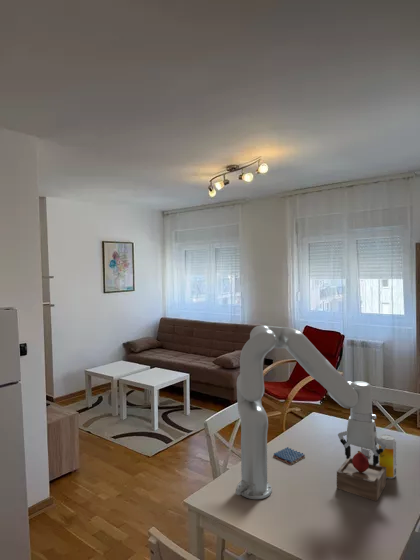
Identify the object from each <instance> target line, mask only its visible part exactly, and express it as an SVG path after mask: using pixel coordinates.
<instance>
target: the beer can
mask: <svg viewBox="0 0 420 560" xmlns="http://www.w3.org/2000/svg"><path fill="white" fill-rule="evenodd" d="M378 439H380V440H381V441H383V442H384V443H385V444H386V445H387V446H386V448H385V449H384V451H383V452H382V453H381V454H379V463H378V465H379V466H383V467H386V479H390V480H391V479H394V478H395V477H396V476H397V441H396V438H395V437H394V436H393V435H390V434H380V436H379V438H378ZM380 448H381V446H380V445H379V444H378V449H380Z"/></svg>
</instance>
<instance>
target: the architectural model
mask: <svg viewBox="0 0 420 560" xmlns="http://www.w3.org/2000/svg"><path fill="white" fill-rule="evenodd" d="M360 449H361V450H360V452H361V453H362V454H364V455H365V456H366V457H367V458H371V456H372V453H371V451H372V450H371V449H366V448H362V447H360Z"/></svg>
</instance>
